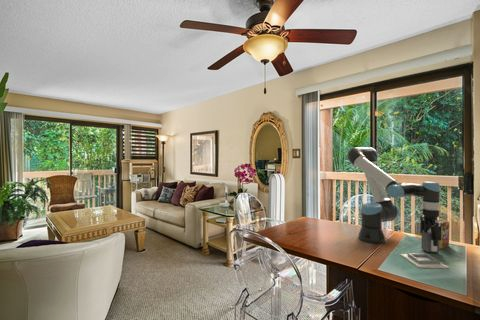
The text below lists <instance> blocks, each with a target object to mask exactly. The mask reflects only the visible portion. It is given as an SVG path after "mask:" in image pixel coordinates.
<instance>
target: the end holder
mask: <svg viewBox="0 0 480 320" xmlns="http://www.w3.org/2000/svg"><path fill="white" fill-rule="evenodd" d="M400 256H401V257H403V258H404V259H405V260H406V261H408V262H410V263H411V264H413V265H414V266H415V267H417V268H419V269H421V268H423V269H424V268H425V269H450V268H449V267H450V266H448V265H446V264H444V263H443V262H441V260H438V259H437V258H436V257H434V256H432V255H431V254H429V253H422V252H421V253H420V252H419V253H418V252H415V253H412V252H411V253H409V252H408V253H400Z"/></svg>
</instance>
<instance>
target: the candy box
mask: <svg viewBox="0 0 480 320" xmlns="http://www.w3.org/2000/svg"><path fill="white" fill-rule="evenodd" d="M438 222H439V223H442V226H441V240H439V249H443V248H447V247H449V246H450V225H451V224H450V221H448V220H443V219H441V220H438Z"/></svg>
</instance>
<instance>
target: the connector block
mask: <svg viewBox="0 0 480 320" xmlns="http://www.w3.org/2000/svg"><path fill="white" fill-rule="evenodd" d="M431 239H432V234H431V229H430V230H428V232H422V233H421V249H422V250H424V251H425V252H427V253H439V252H440V248H439V240H438V246H437V252H436V251H431Z"/></svg>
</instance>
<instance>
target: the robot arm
mask: <svg viewBox="0 0 480 320" xmlns="http://www.w3.org/2000/svg"><path fill="white" fill-rule="evenodd" d="M346 157H347V160H348V161H349V163H350V164H352V165H353V166H354V167H357V168H358V169H360V170H361V171H363V173H364V175H365V179H366V182H367V185H368V187H369V190H370V192H371V196H372V198H373V202H367V203H366V202H365V203H364V204H362V205H361V210H360V213H361V218H360V219H361V227H360V229H359V231H358V239H359V240H361V241H362V242H366V243H369V244H384V243H385V242H386V236H385V234H384V231H383V225H382V224H383V223H388V222H392V221H395V220H397V219H398V218H399V216H400V209H399V207H398V206H397V205H396V204H395V203H393V200H392V199H391V198H393V199H398V198H399V199H400V198H407V197H418V198H421V199H422V202H421V203H422V205H421V207H422V208H421V213H422V216H419V218H420V219H419V221H420V226H419V227H420V232H419V233H420V234H422V232H428V230H431V234H432V239H431V251H436V252H435V253H438V252H437V246H438V240H441V226H442V223H439V222H438V221H439V220H438V218H439V217H440V193H441V189H440V183H439V182H437V181H423V182H422V184H420V183H412V182H411V183H410V182H402V183H400V182H398V181H397V180H395V179H394V178H393V177H391V176H390V175H389V174H387V173H386V172H385V171H384V170H382V169H380V167H378V166H377V163H378V157H379V154H378V152H377V150H376V149H375V148H373V147H370V146H356V147H351V148H350V149H348V151H347V155H346Z"/></svg>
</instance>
